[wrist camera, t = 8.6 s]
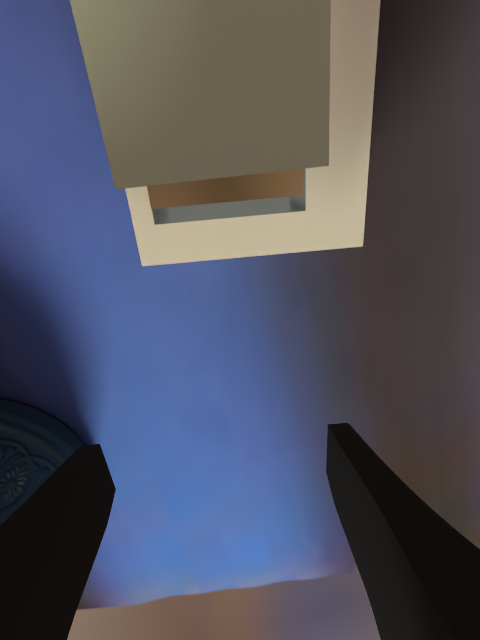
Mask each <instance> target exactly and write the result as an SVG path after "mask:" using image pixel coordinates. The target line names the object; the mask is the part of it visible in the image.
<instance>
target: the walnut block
mask: <svg viewBox="0 0 480 640" xmlns="http://www.w3.org/2000/svg"><path fill="white" fill-rule="evenodd" d="M147 190H148V195H149V201H150V206H151V209H159V208H170V207H181V206H191V205H202V204H213V203H224V202H235V201H246V200H257V199H267V198H278V197H289V196H300V195H303V169H296V170H287V171H278V172H269V173H261V174H252V175H243V176H234V177H225V178H216V179H207V180H198V181H189V182H180V183H171V184H162V185H153V186H147Z"/></svg>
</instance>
